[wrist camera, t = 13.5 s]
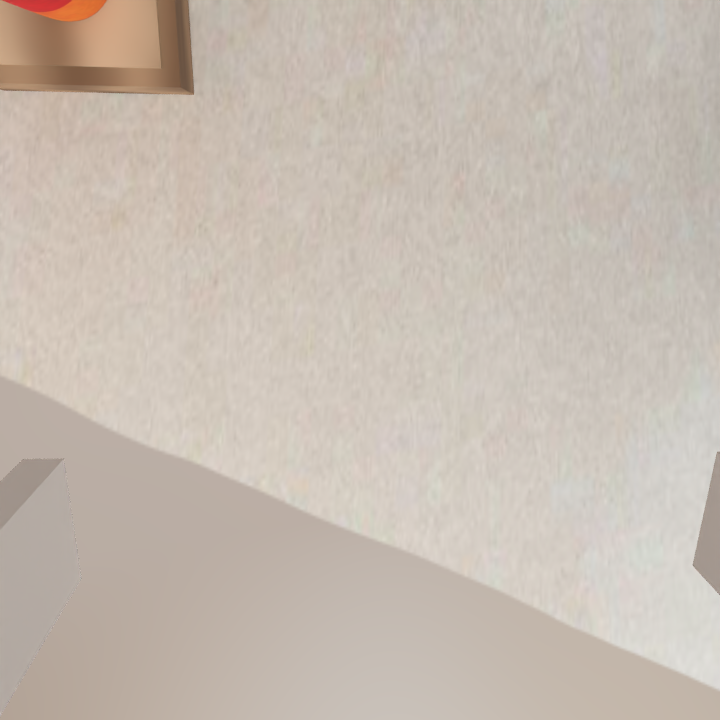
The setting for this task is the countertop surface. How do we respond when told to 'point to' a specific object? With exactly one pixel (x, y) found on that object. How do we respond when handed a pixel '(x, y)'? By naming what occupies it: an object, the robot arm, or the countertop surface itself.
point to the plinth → (99, 49)
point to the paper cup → (61, 8)
